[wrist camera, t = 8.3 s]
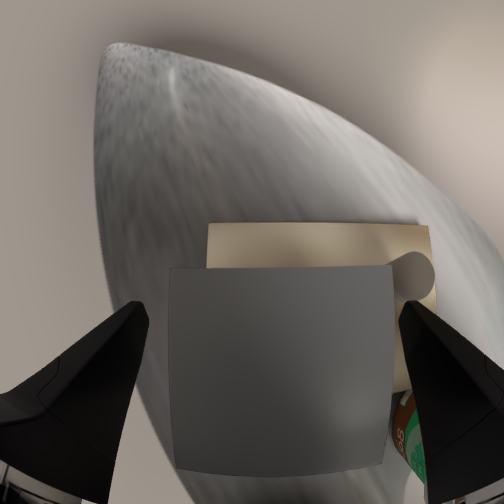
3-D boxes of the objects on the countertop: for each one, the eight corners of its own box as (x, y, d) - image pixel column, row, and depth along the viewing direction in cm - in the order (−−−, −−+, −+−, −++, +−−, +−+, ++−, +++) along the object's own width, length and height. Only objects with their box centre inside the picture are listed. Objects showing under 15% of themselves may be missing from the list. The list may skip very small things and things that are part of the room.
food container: (342, 412, 15) (401, 487, 5) (408, 352, 15) (509, 364, 6) (414, 491, 12) (468, 548, 2) (467, 441, 12) (538, 474, 3)
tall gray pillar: (317, 381, 14) (381, 463, 4) (231, 382, 14) (176, 468, 5) (318, 297, 15) (391, 264, 6) (231, 298, 16) (169, 268, 6)
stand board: (425, 381, 14) (467, 395, 9) (208, 396, 15) (185, 423, 10) (421, 230, 17) (459, 204, 12) (212, 228, 18) (191, 196, 13)
